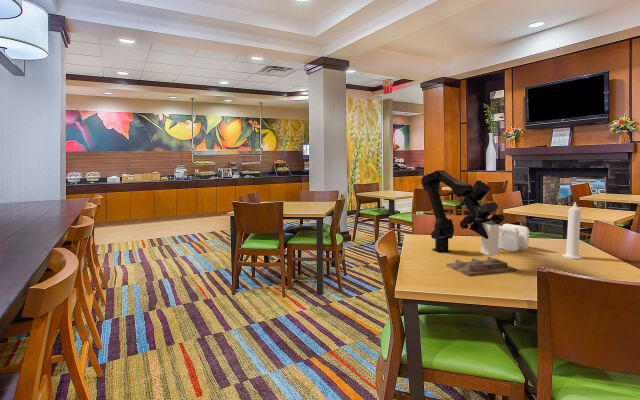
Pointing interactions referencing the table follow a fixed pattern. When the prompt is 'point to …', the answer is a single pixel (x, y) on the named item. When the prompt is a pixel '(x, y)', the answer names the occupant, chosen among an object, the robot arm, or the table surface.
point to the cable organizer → (513, 237)
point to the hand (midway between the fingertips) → (492, 238)
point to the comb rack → (481, 267)
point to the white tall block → (490, 239)
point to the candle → (573, 233)
